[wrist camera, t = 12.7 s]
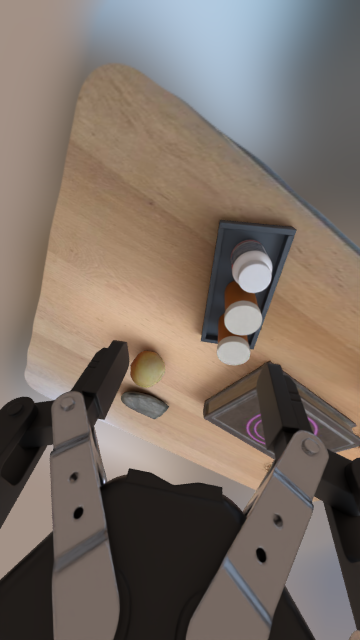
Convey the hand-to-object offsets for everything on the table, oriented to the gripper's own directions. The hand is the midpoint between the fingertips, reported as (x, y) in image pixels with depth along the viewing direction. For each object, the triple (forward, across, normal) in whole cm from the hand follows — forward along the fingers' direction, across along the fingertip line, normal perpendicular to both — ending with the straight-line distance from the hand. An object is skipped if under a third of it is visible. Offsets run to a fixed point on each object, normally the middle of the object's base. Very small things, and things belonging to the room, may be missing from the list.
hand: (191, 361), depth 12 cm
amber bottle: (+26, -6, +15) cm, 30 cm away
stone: (+26, +12, +47) cm, 55 cm away
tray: (+26, -6, +8) cm, 28 cm away
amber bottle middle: (+26, -6, +8) cm, 28 cm away
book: (+26, -23, +41) cm, 54 cm away
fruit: (+26, +10, +28) cm, 40 cm away
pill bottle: (+26, -6, +2) cm, 27 cm away
